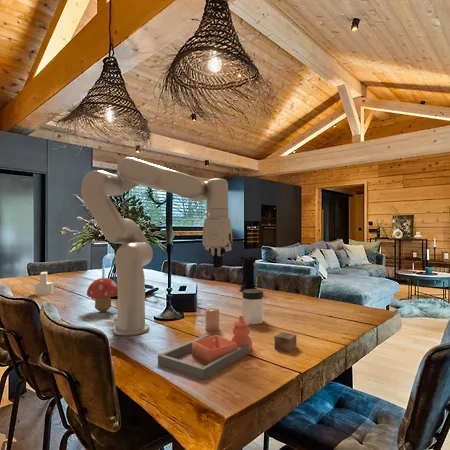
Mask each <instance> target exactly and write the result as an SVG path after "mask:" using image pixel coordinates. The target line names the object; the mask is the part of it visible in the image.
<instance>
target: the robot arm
mask: <svg viewBox="0 0 450 450" xmlns="http://www.w3.org/2000/svg"><path fill="white" fill-rule="evenodd" d="M116 167H117V169H116V171H117V172H115V173H110V172H108V171H105V170H101V169H100V170H99V169H97V170H96V169H94V170H91V171H90V172H89V171H88V173H86V175H85V176H84V177H83V179H82V183H81V186H80V189H81V191H80V193H81V198H82V200H83V202H84V204H85V206H86V208H87V209H88V211H89V212H90V214H91V215H92V217H93V219H94V220H95V222H96V224H97V226H98V227H99V229H100V231H101V233H102V235H103V236H104V237H105V239H106V240H107V241H108V242H109V243H111V244H121V246H119V247H118V248H117V250H116V252H115V255H114V263H115V268H116V269H115V270H116V278H117V282H116V284H117V288H118V295H117V316H116V317H114V318H113V320H112V321H113V322H114V323H116V326H114V327H113V328H112V331H113V332H112V333H113V334H115V335H117V336H124V337H125V336H135V335H136V336H137V335H141V334H144V333H147V332H148V331H150V325H149V324H148V323H146V302H145V301H146V286H145V283H146V280H145V272H144V266H146V265H148V264H150V263H151V261H152V260H153V255H154V251H153V248H152V246H151V245H150V243H149V241H148V240H147V238H146V236H145V235H144V233H143V231H142V229H141V228H140V227H139V225H138V224H137V223H136V222H135V221H134V220H132V219H130V218H126V217H125V218H124V217H123V216H122V215H121V214H120V212H119V211H118V209H117V207H116V205H115V204H114V203H113V201H112V200H110V198H109V197H108V196H110V197H116V196H120V195H122V194H124V193H126V192H128V191H131V190H133V189H134V188H136V187H138V186H140V185H141V186H144V187H146V188H150V189H152V190H156V191H164V192H167V193H170V194H173V195H175V196H180V197H183V198H185V199H188V200H191V201H194V202H203V201H206V211H205V212H204V216H206V218H204V222H203V227H202V241H201V242H202V245H203V247H204V250H206V251H209V252H210V253H211V256H212V258H213V261H212V264H213V268H214V269H215V268H217V269H218V268H222V267H223V265H224V255H225V253H227V252H229V251H232V250H233V249H232V245H233V230H232V222H231V218H230V217H229V182H228V181H227V179H224V178H211V179H208V180H207V181H206V180H205V181H204V180H201V179H200V178H198V177H196V176H193V175H189V174H187V173H185V172H180V171H176V170H173V169H170V168H167V167H164V166H161V165H158V164H154V163H151V162H148V161H145V160H142V159H137V158H135V157H131V156H130V157H129V156H127V157H123V158H121V159H120V160H119V161H118V163H117V166H116Z"/></svg>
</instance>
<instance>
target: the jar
mask: <svg viewBox="0 0 450 450" xmlns="http://www.w3.org/2000/svg"><path fill="white" fill-rule="evenodd" d="M241 316H244V319H245V320H247V321H248V322H249V325H259V324H263V322H264V291H263V290H261V289H259V288H258V289H246V290H243V293H242V298H241Z"/></svg>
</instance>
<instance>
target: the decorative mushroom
mask: <svg viewBox="0 0 450 450" xmlns="http://www.w3.org/2000/svg"><path fill="white" fill-rule="evenodd" d="M86 296H87V297H88V298H92V299H94V309H95V310H97V311H99V312H100V313H105V312H107V311H108V310H110V309H111V307H112V298H113V297H116V296H118V288H117V282H115V281H114V280H113V279H111V278H108V277H100V278H97V279H95V280H94V281H92V282H91V283H90V284H89V286H88V287H87V291H86Z"/></svg>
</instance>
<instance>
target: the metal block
mask: <svg viewBox="0 0 450 450" xmlns="http://www.w3.org/2000/svg"><path fill="white" fill-rule="evenodd" d="M296 348H297V334H296V333H290V332H285V331H281V332H279V333H277V334H276V335H274V350H279V351H284V352H287V353H291V352H292V351H294V349H296Z"/></svg>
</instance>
